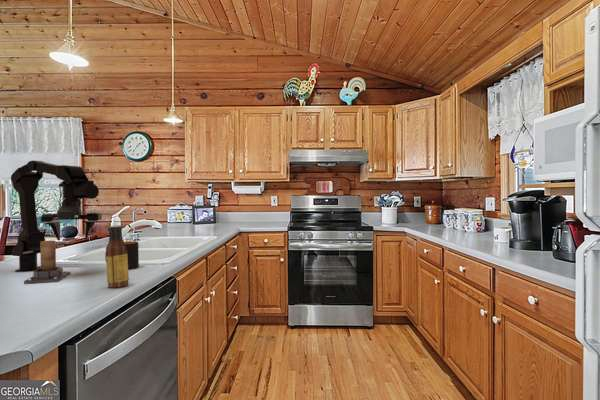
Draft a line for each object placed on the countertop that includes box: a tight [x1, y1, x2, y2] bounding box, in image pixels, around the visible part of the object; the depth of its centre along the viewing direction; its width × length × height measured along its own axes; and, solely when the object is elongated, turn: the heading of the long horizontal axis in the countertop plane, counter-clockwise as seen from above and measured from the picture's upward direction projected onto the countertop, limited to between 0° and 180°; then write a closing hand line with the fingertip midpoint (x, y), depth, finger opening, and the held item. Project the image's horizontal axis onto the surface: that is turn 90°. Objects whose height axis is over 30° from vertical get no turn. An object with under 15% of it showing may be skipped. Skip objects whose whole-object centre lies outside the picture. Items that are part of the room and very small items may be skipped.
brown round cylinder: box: [39, 239, 57, 271], centre depth 124 cm, size 4×4×12 cm
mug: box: [104, 240, 140, 271], centre depth 141 cm, size 8×12×10 cm
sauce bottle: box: [105, 225, 130, 289], centre depth 114 cm, size 7×6×20 cm
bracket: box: [23, 266, 71, 285], centre depth 124 cm, size 12×10×4 cm
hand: (72, 239), depth 131 cm, fingers open, 9 cm apart
